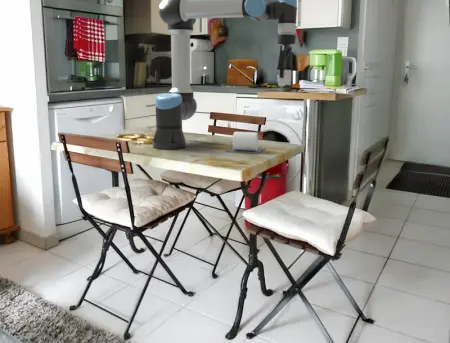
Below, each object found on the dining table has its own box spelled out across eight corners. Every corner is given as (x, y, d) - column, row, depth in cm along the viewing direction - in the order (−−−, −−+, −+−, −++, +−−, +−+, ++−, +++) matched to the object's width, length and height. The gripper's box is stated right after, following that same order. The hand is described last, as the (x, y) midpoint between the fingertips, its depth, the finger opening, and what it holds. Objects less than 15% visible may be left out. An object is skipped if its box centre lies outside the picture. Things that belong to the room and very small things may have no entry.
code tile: (225, 151, 192) (225, 151, 192) (235, 146, 205) (235, 146, 205) (257, 154, 188) (257, 153, 188) (265, 148, 201) (265, 148, 201)
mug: (255, 152, 190) (255, 133, 188) (232, 151, 192) (232, 133, 190) (259, 147, 201) (259, 130, 199) (237, 146, 203) (237, 129, 201)
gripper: (290, 32, 177) (287, 86, 182) (300, 36, 200) (297, 84, 205) (271, 32, 179) (269, 86, 184) (283, 36, 202) (281, 84, 207)
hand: (284, 85), depth 195 cm, fingers open, 13 cm apart
